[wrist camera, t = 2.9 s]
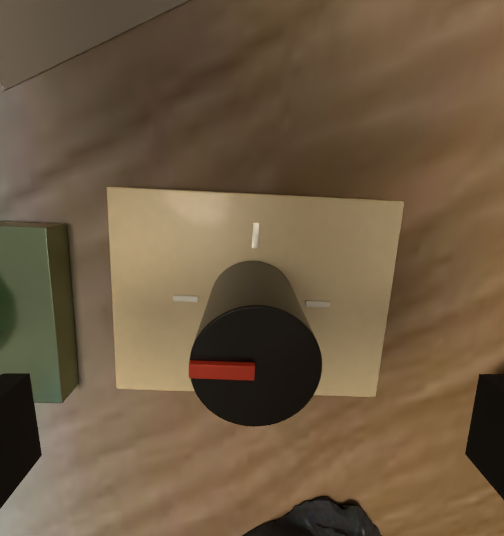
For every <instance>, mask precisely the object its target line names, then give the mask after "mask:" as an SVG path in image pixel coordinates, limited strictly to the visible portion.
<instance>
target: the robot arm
mask: <svg viewBox="0 0 504 536" xmlns="http://www.w3.org/2000/svg"><path fill="white" fill-rule="evenodd" d="M465 454H466V455H467V457H468V458H469V459H470V460H471V461H472V463H473V464H474V465H475V466H476V467H477V469H478V470H479V471H480V472H481V473H482V475H483V476H484V477H485V478H486V479H487V480H488V482H489V483H490V484H491V485H492V486H493V488H494V489H495V490H496V491H497V492H498V494H499V495H500V496H501V497H502V498H503V500H504V374H479V379H478V385H477V390H476V396H475V402H474V407H473V413H472V419H471V424H470V430H469V435H468V441H467V447H466V452H465ZM41 455H42V454H41V447H40V441H39V434H38V427H37V420H36V413H35V406H34V399H33V392H32V385H31V378H30V373H3V374H1V375H0V508H1V507H2V506H3V504H4V503H5V502H6V501H7V499H8V498H9V497H10V495H11V494H12V493H13V492H14V490H15V489H16V488H17V486H18V485H19V484H20V483H21V481H22V480H23V479H24V477H25V476H26V475H27V474H28V472H29V471H30V470H31V468H32V467H33V466H34V464H35V463H36V462H37V461H38V459H39V458H40V457H41Z"/></svg>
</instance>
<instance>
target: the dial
mask: <svg viewBox="0 0 504 536" xmlns="http://www.w3.org/2000/svg"><path fill="white" fill-rule="evenodd" d="M321 374H322V355H321V351H320V347H319V345H318V342H317V340H316V338H315V336H314V333H313V331H312V329H311V327H310V325H309V323H308V321H307V318H306V316H305V314H304V312H303V310H302V308H301V306H300V304H299V301H298V299H297V297H296V295H295V293H294V291H293V289H292V286H291V284H290V282H289V281H288V279H287V278H286V276H285V275H284V274H283V273H282V272H281V271H280V270H279V269H277V268H276V267H274V266H272V265H271V264H268V263H265V262H261V261H243V262H239V263H236V264H234V265H232V266H230V267H229V268H227V269H226V270H225V271H223V272H222V273H221V274H220V275H219V277H218V278H217V279H216V281H215V283H214V285H213V288H212V290H211V293H210V296H209V299H208V302H207V305H206V308H205V311H204V314H203V317H202V320H201V323H200V326H199V329H198V332H197V335H196V338H195V340H194V343H193V346H192V349H191V353H190V358H189V378H190V379H191V383H192V385H193V388H194V390H195V392H196V394H197V396H198V397H199V399H200V400H201V402H202V403H203V404H204V405H205V406H206V407H207V408H208V409H209V410H210V411H211V412H213V413H214V414H215V415H217V416H219V417H220V418H222V419H224V420H226V421H229V422H232V423H235V424H239V425H244V426H266V425H271V424H275V423H278V422H281V421H283V420H286V419H288V418H290V417H291V416H293V415H294V414H296V413H297V412H299V411H300V410H301V409H302V408H303V407H304V406H305V405H306V404H307V403H308V402H309V401H310V400H311V398H312V397H313V395H314V394H315V391H316V389H317V387H318V385H319V382H320V379H321Z"/></svg>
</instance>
